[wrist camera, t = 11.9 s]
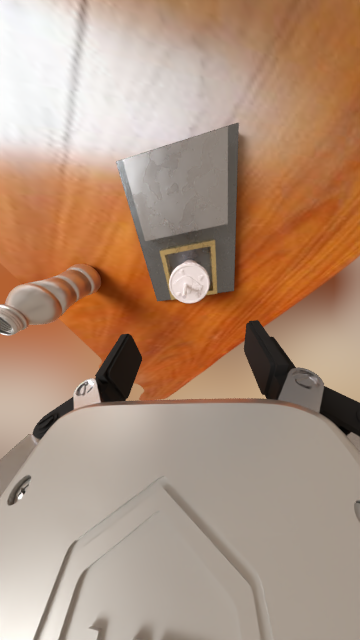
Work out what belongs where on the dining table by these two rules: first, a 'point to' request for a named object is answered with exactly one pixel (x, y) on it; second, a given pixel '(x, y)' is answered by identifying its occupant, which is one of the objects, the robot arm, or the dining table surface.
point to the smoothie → (189, 282)
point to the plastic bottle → (46, 298)
